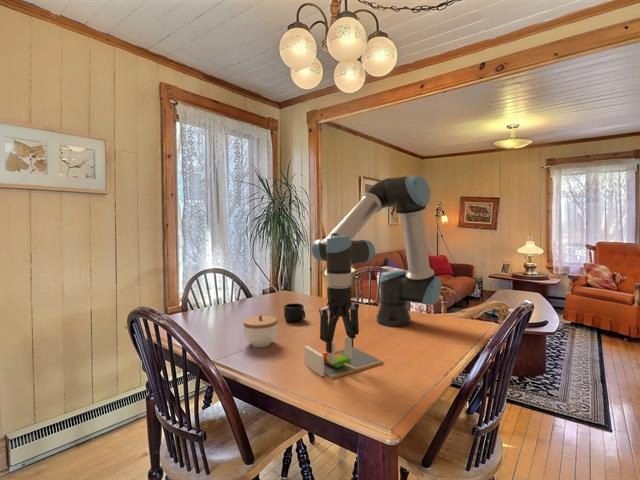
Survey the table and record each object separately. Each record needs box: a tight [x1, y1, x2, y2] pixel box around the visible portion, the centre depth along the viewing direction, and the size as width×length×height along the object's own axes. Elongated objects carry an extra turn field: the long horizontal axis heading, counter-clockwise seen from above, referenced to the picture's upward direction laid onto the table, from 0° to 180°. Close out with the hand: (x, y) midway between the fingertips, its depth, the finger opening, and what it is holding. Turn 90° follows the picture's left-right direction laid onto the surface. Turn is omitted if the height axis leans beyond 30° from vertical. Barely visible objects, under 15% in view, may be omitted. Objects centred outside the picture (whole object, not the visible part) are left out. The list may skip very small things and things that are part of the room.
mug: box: [283, 302, 306, 323], centre depth 161 cm, size 12×9×7 cm
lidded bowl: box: [243, 314, 278, 348], centre depth 131 cm, size 13×13×11 cm
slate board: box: [304, 346, 384, 380], centre depth 114 cm, size 20×16×1 cm
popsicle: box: [321, 352, 357, 369], centre depth 108 cm, size 6×15×2 cm, turn 34°
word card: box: [304, 345, 325, 377], centre depth 108 cm, size 1×10×6 cm, turn 32°
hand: (340, 359), depth 108 cm, fingers closed on popsicle, 6 cm apart
